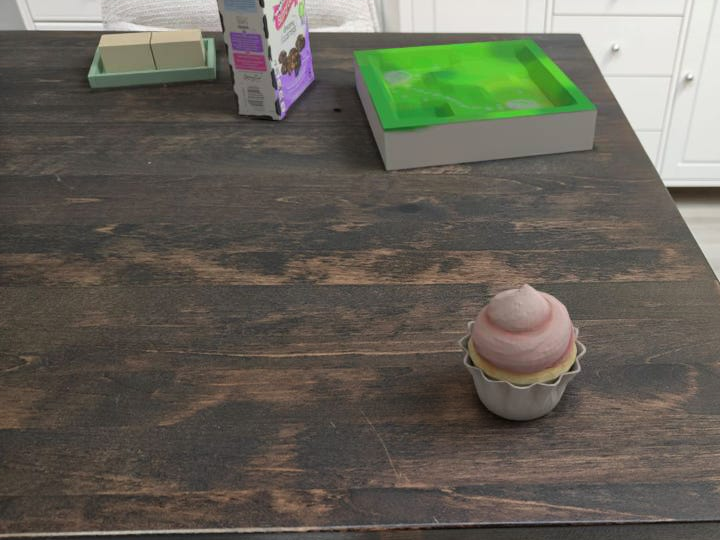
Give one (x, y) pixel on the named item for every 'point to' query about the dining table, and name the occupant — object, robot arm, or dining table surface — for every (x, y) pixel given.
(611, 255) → the dining table surface
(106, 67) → the loose pad
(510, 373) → the cupcake
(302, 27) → the candy box
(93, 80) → the frame
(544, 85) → the tray
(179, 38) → the seated pad
